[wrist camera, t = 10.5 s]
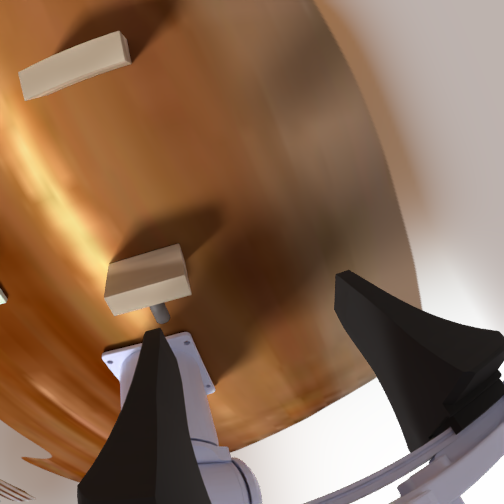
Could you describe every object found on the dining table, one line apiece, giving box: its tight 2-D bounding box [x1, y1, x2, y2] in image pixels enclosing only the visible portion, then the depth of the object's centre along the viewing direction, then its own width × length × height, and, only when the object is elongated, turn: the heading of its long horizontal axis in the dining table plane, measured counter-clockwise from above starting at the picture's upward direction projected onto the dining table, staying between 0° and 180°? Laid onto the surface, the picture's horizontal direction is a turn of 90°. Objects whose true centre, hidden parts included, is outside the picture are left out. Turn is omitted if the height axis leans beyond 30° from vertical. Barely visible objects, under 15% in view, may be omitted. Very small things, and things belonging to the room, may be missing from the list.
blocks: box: [18, 31, 192, 324], centre depth 16 cm, size 17×5×4 cm, turn 7°
